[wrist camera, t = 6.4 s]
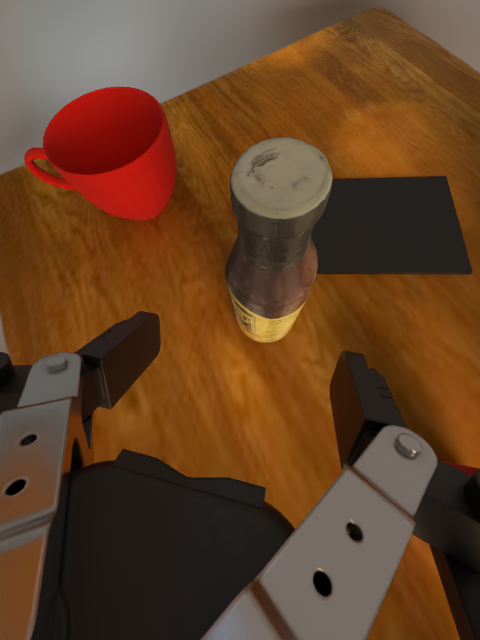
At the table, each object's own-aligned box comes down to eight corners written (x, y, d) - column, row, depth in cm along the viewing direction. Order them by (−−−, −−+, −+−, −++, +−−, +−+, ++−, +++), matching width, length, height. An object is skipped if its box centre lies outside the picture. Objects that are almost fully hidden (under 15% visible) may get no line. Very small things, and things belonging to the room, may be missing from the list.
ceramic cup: (77, 177, 38) (16, 102, 28) (188, 160, 37) (164, 77, 28) (68, 250, 34) (-7, 191, 24) (192, 233, 33) (166, 164, 24)
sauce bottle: (235, 297, 30) (195, 116, 11) (288, 291, 30) (340, 95, 11) (240, 351, 28) (201, 243, 9) (297, 346, 28) (380, 221, 9)
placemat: (444, 178, 33) (446, 175, 33) (469, 274, 29) (472, 272, 28) (289, 182, 35) (289, 180, 34) (291, 273, 30) (291, 272, 30)
